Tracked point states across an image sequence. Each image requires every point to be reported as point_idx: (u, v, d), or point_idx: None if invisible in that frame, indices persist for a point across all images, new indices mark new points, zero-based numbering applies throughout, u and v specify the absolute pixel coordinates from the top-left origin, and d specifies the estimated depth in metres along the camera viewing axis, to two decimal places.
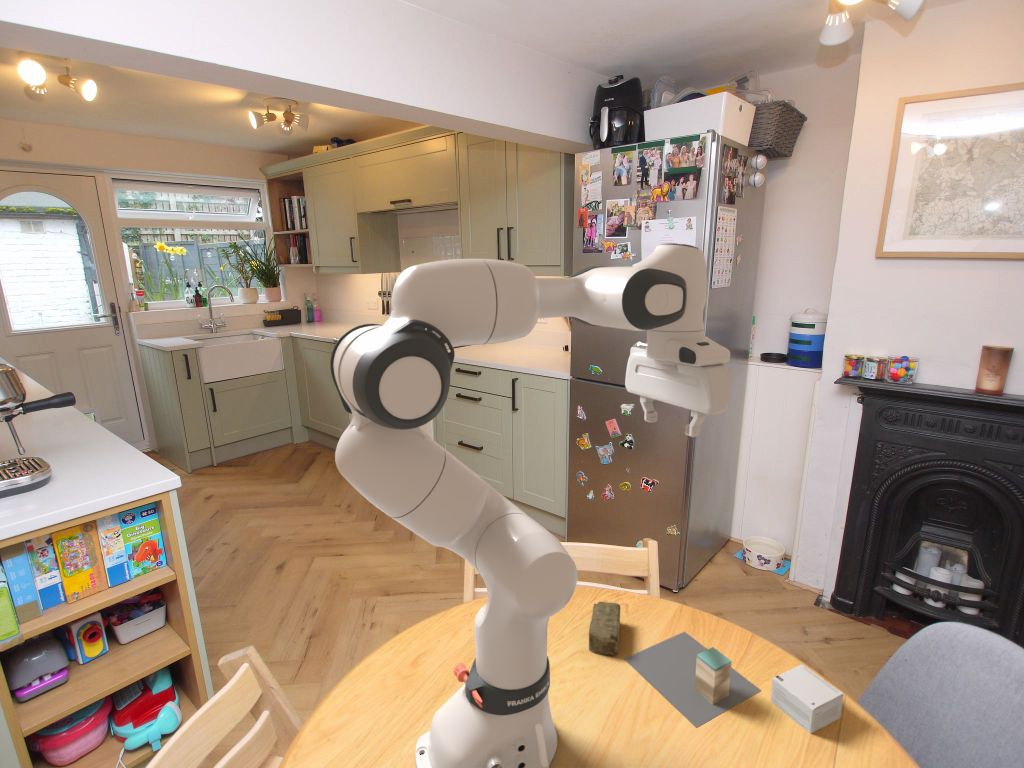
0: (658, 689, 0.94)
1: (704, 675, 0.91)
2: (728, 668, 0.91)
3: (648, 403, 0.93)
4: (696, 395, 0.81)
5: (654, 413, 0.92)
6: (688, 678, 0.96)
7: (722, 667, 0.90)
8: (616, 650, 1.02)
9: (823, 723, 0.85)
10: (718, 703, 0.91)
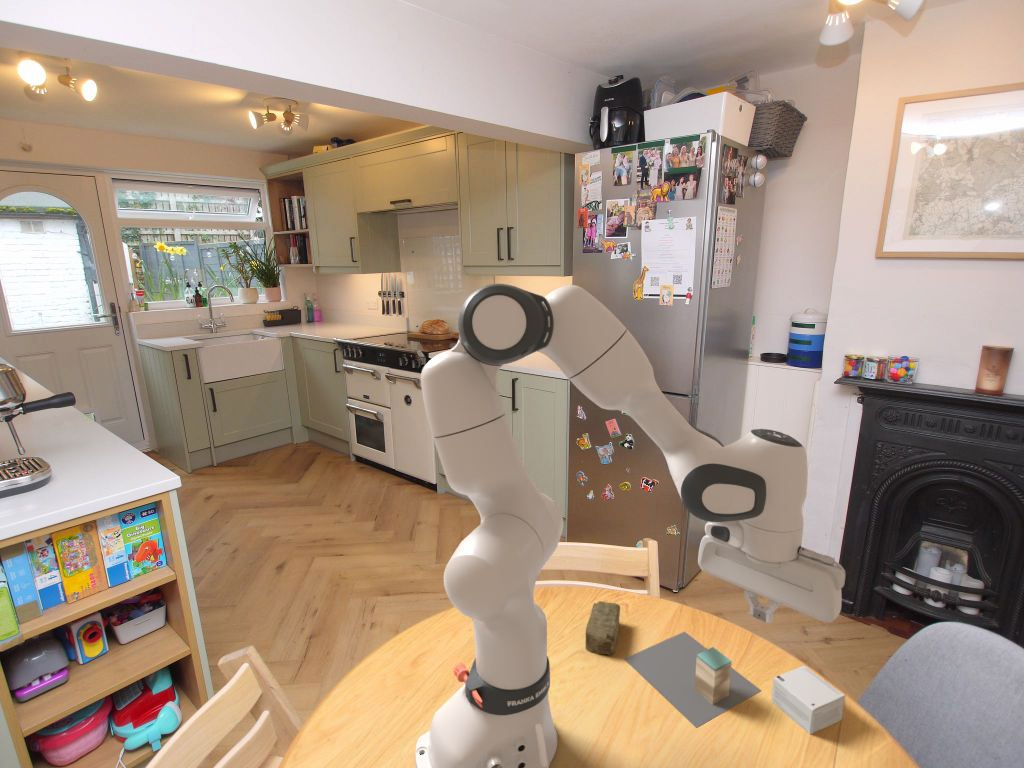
0: (658, 689, 0.94)
1: (704, 675, 0.91)
2: (728, 668, 0.91)
3: None
4: None
5: (762, 609, 0.82)
6: (688, 678, 0.96)
7: (722, 667, 0.90)
8: (612, 650, 1.02)
9: (823, 724, 0.85)
10: (718, 703, 0.91)
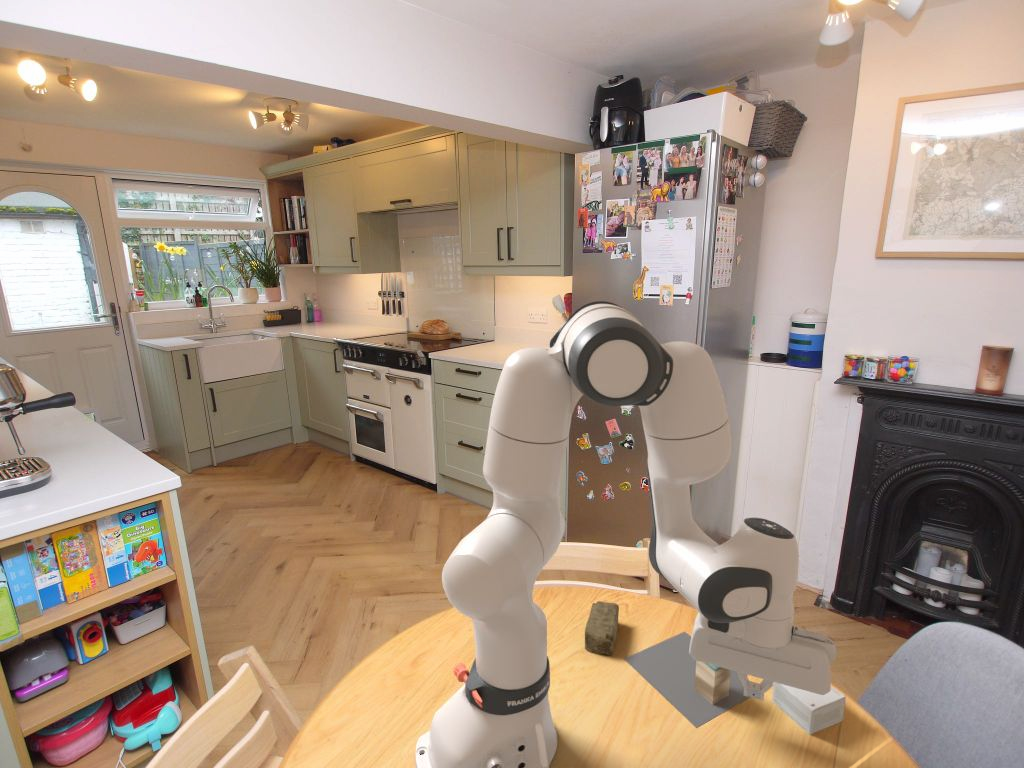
0: (658, 689, 0.94)
1: (704, 675, 0.91)
2: None
3: None
4: None
5: (754, 687, 0.84)
6: (688, 678, 0.96)
7: None
8: (611, 650, 1.02)
9: (823, 725, 0.85)
10: (718, 703, 0.91)
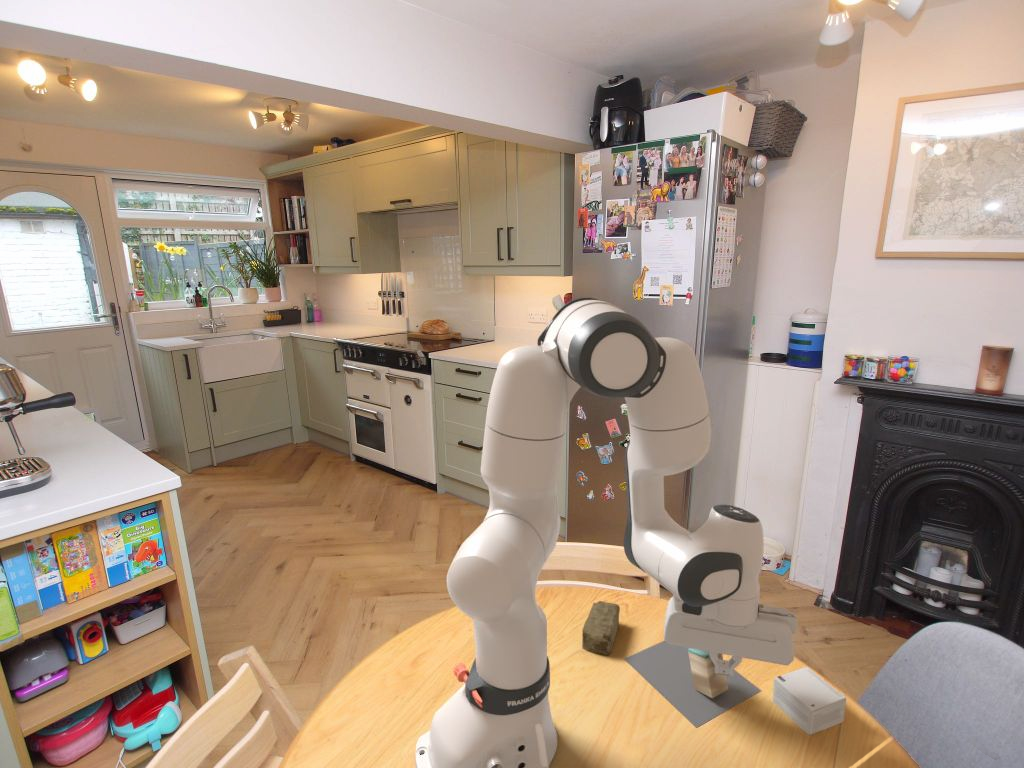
0: (658, 689, 0.94)
1: (698, 668, 0.92)
2: (720, 657, 0.92)
3: None
4: None
5: (724, 665, 0.89)
6: (688, 678, 0.96)
7: None
8: (608, 650, 1.02)
9: (823, 726, 0.85)
10: (718, 703, 0.91)
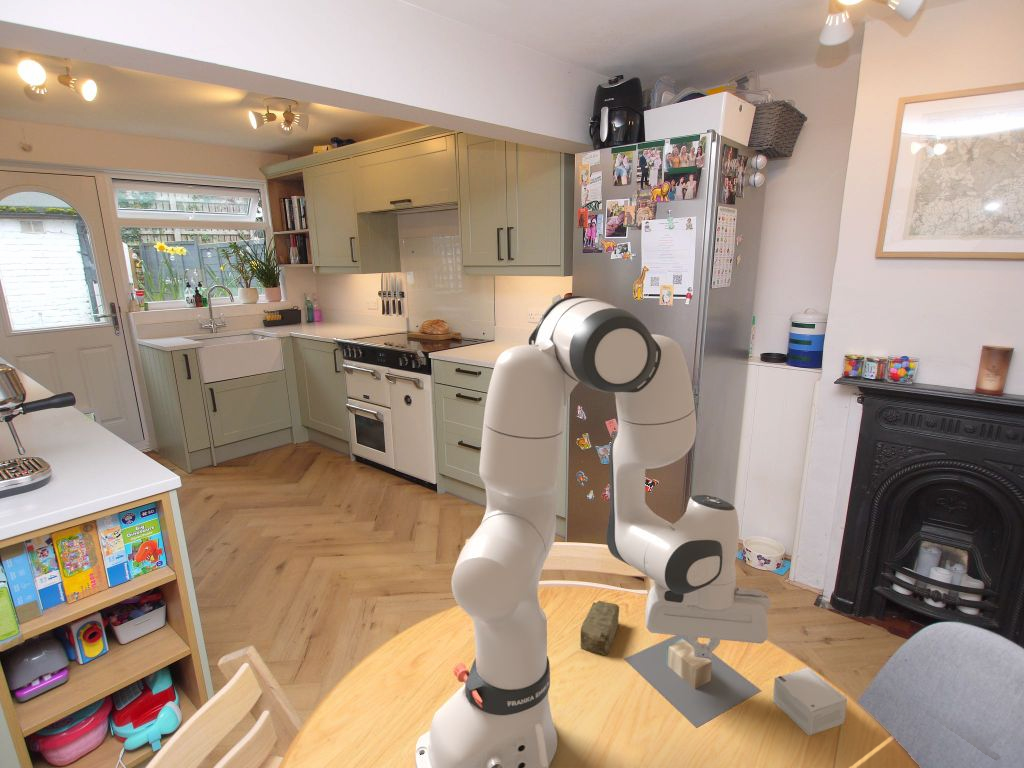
0: (658, 689, 0.94)
1: (677, 664, 0.97)
2: (685, 643, 1.00)
3: None
4: None
5: (703, 648, 0.93)
6: None
7: (675, 643, 1.00)
8: (606, 649, 1.02)
9: (823, 726, 0.85)
10: (718, 703, 0.91)
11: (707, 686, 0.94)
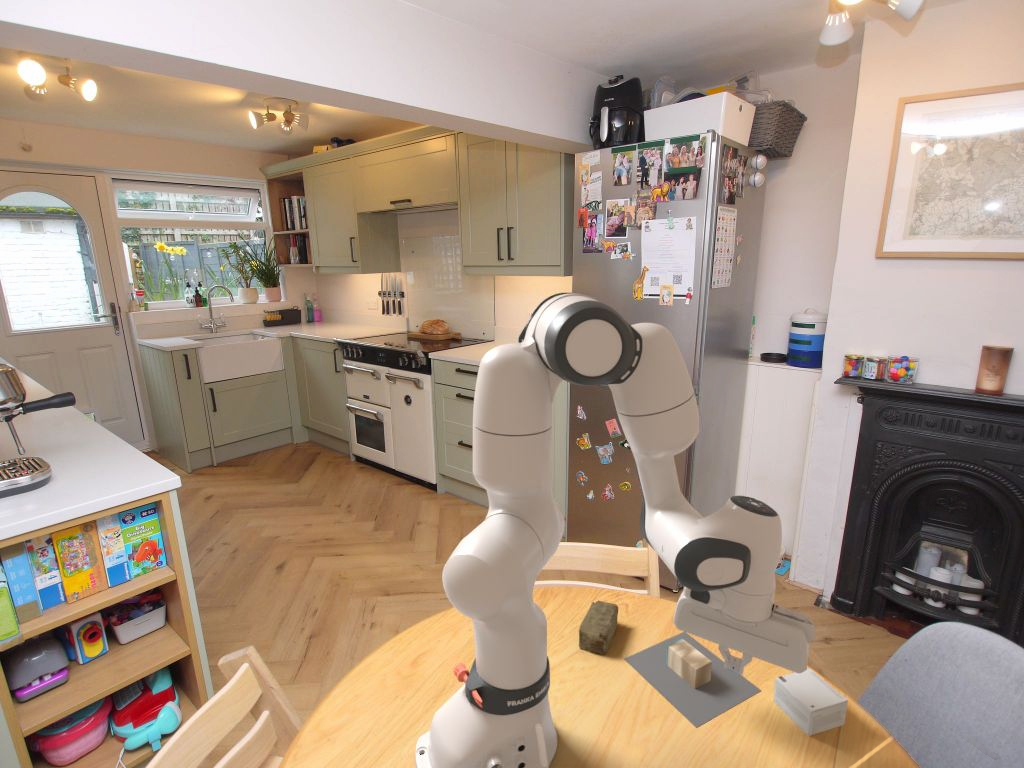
0: (658, 689, 0.94)
1: (677, 664, 0.97)
2: (685, 643, 1.00)
3: None
4: None
5: (735, 661, 0.87)
6: None
7: (675, 643, 1.00)
8: (604, 649, 1.02)
9: (823, 727, 0.85)
10: (718, 703, 0.91)
11: (707, 686, 0.94)
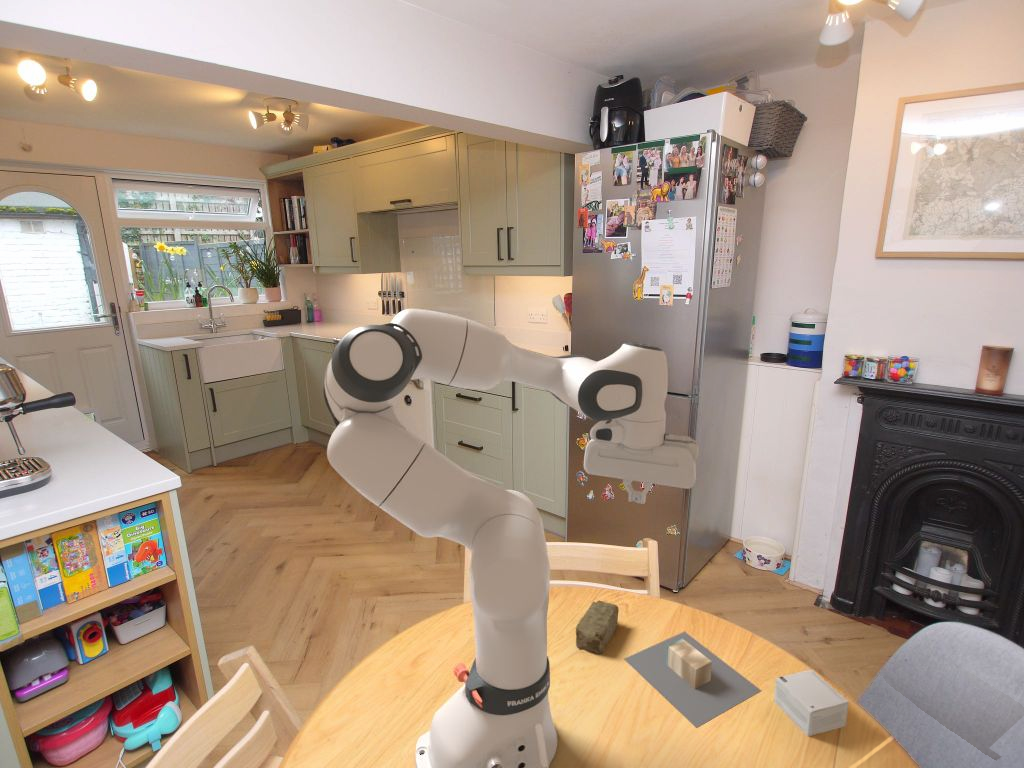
0: (658, 689, 0.94)
1: (677, 664, 0.97)
2: (685, 643, 1.00)
3: None
4: None
5: None
6: None
7: (675, 643, 1.00)
8: (600, 649, 1.03)
9: (823, 728, 0.85)
10: (718, 703, 0.91)
11: (707, 686, 0.94)
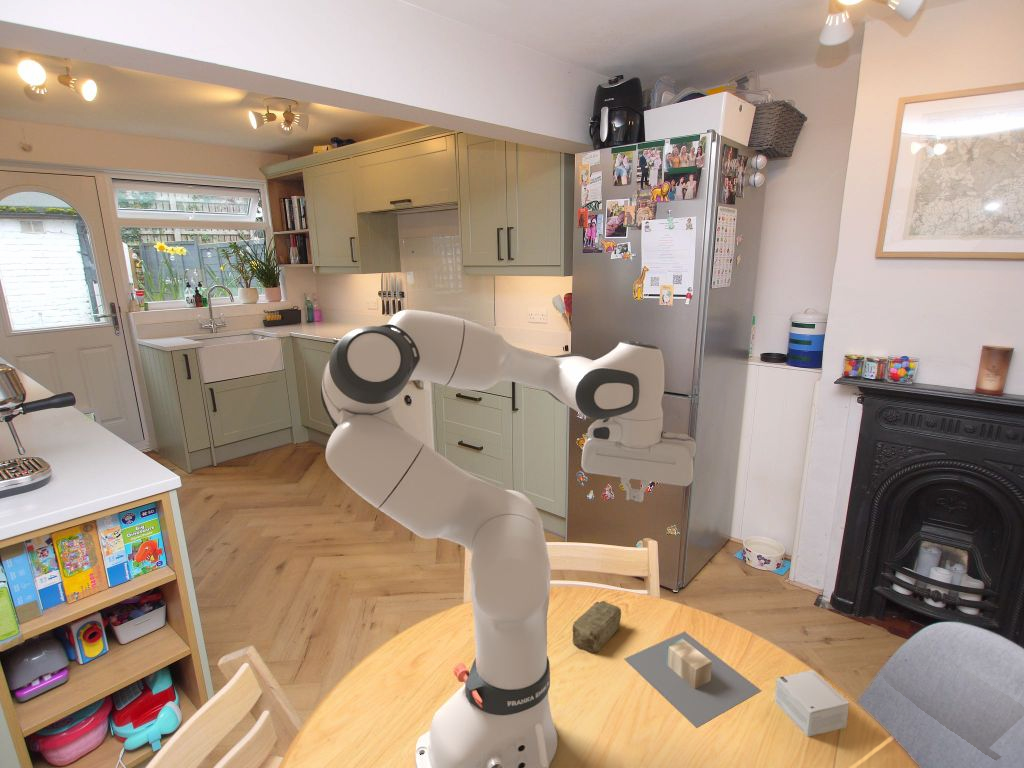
0: (658, 689, 0.94)
1: (677, 664, 0.97)
2: (685, 643, 1.00)
3: (643, 485, 0.98)
4: None
5: (635, 492, 0.99)
6: None
7: (675, 643, 1.00)
8: (595, 648, 1.03)
9: (823, 729, 0.84)
10: (718, 703, 0.91)
11: (707, 686, 0.94)
